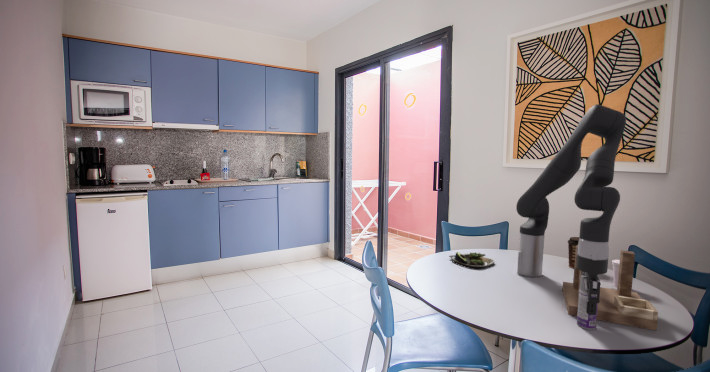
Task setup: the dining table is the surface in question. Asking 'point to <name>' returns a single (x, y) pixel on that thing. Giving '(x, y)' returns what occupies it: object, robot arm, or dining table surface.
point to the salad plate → (472, 260)
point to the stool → (615, 298)
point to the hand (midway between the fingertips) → (588, 308)
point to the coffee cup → (572, 250)
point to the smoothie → (616, 271)
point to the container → (582, 316)
